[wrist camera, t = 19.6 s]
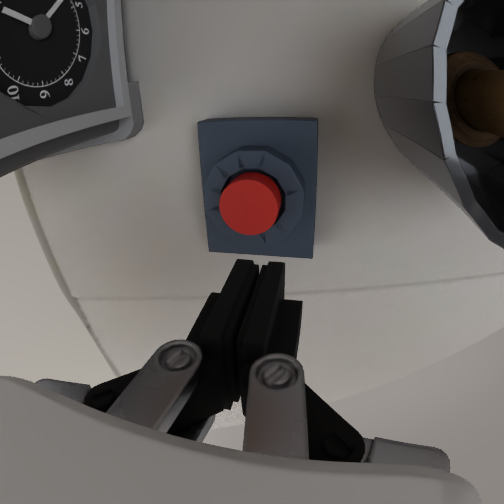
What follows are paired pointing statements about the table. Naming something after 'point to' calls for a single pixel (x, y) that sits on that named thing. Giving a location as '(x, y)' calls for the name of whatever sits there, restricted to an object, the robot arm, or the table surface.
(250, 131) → the housing
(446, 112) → the grey open cylinder
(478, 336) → the table surface
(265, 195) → the button
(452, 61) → the mortar and pestle
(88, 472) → the robot arm
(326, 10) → the table surface
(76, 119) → the alarm clock
